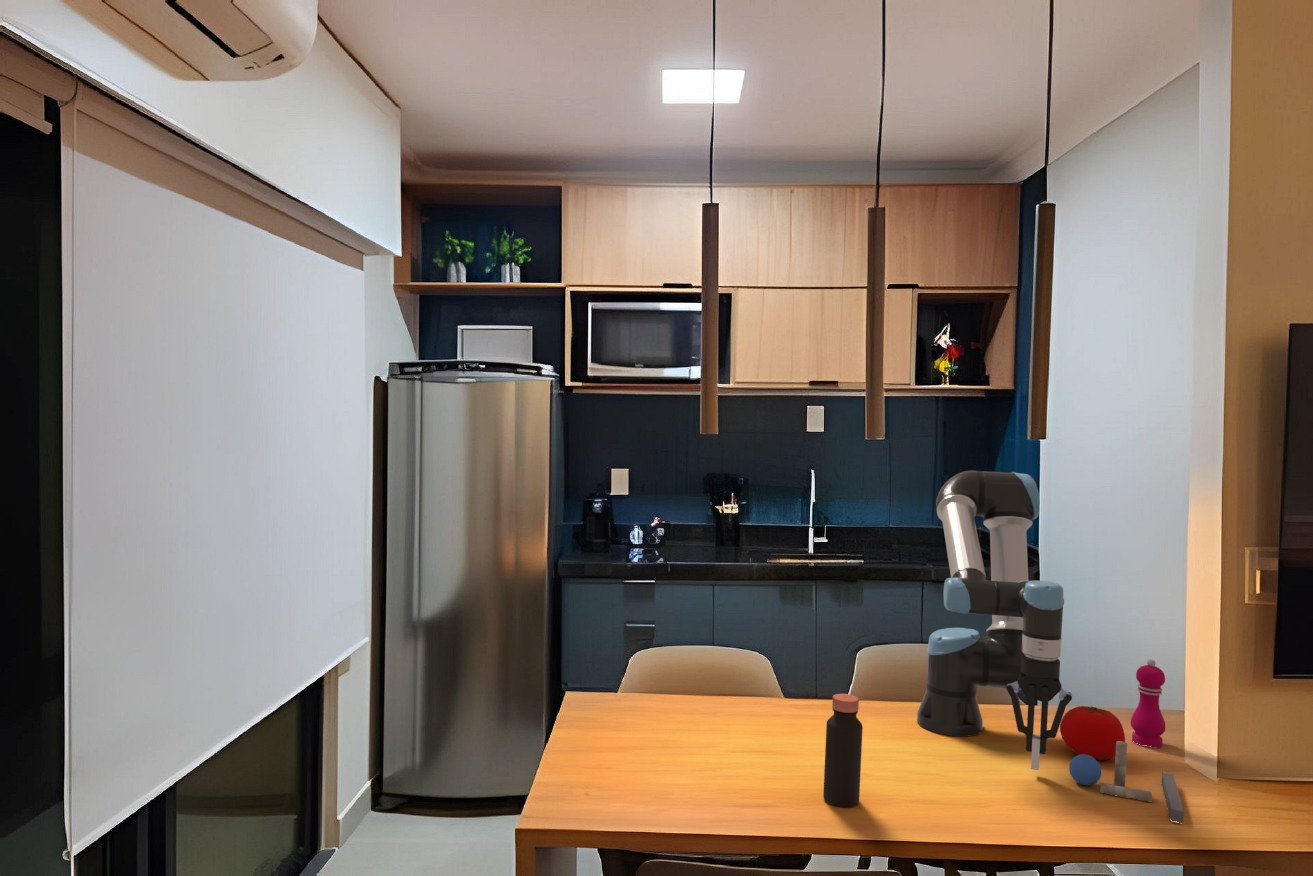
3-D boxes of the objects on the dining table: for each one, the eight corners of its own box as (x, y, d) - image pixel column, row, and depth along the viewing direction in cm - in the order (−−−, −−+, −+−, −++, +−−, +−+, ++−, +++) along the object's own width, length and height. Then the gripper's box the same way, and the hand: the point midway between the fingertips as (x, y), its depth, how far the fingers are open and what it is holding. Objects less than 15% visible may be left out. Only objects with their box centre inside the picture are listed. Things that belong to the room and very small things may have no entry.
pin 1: (1114, 786, 181) (1116, 743, 181) (1113, 783, 183) (1116, 740, 183) (1125, 788, 180) (1127, 745, 180) (1124, 785, 182) (1127, 742, 182)
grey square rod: (1170, 822, 166) (1171, 809, 166) (1161, 784, 184) (1162, 772, 184) (1182, 824, 165) (1183, 811, 165) (1172, 786, 183) (1173, 774, 183)
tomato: (1121, 771, 190) (1124, 720, 189) (1055, 756, 197) (1058, 707, 197) (1126, 754, 200) (1129, 706, 199) (1063, 741, 207) (1066, 694, 207)
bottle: (815, 798, 170) (820, 695, 170) (839, 790, 174) (843, 690, 174) (842, 811, 165) (847, 705, 164) (866, 803, 169) (871, 699, 168)
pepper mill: (1162, 751, 203) (1166, 665, 202) (1127, 743, 207) (1131, 659, 206) (1166, 743, 208) (1171, 659, 208) (1132, 735, 213) (1136, 653, 212)
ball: (1112, 770, 179) (1094, 794, 178) (1100, 767, 184) (1083, 789, 184) (1086, 749, 180) (1069, 773, 179) (1075, 746, 186) (1058, 769, 185)
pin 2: (1100, 795, 178) (1150, 804, 175) (1101, 790, 177) (1151, 799, 173) (1099, 785, 179) (1150, 794, 176) (1100, 781, 178) (1151, 790, 175)
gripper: (1006, 655, 184) (1000, 767, 184) (1075, 665, 178) (1068, 780, 179) (1008, 647, 191) (1003, 755, 191) (1075, 656, 185) (1069, 767, 186)
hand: (1034, 767), depth 185 cm, fingers closed
